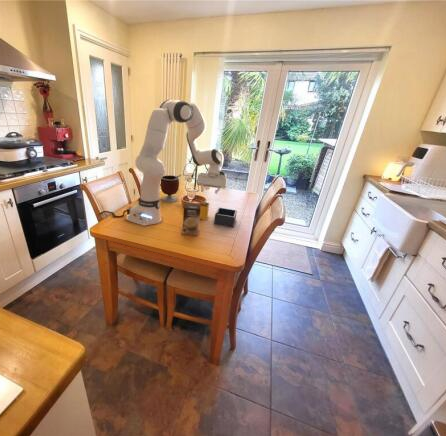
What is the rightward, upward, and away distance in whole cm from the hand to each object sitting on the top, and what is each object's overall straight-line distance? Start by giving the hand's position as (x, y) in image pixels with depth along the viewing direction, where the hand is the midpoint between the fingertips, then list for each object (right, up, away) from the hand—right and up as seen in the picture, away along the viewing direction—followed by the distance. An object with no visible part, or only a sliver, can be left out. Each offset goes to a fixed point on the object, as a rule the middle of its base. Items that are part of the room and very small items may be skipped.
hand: (209, 192), depth 154 cm
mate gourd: (-26, -3, +26) cm, 37 cm away
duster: (-4, -17, -3) cm, 18 cm away
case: (+9, -19, -7) cm, 23 cm away
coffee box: (-13, -25, -21) cm, 36 cm away
